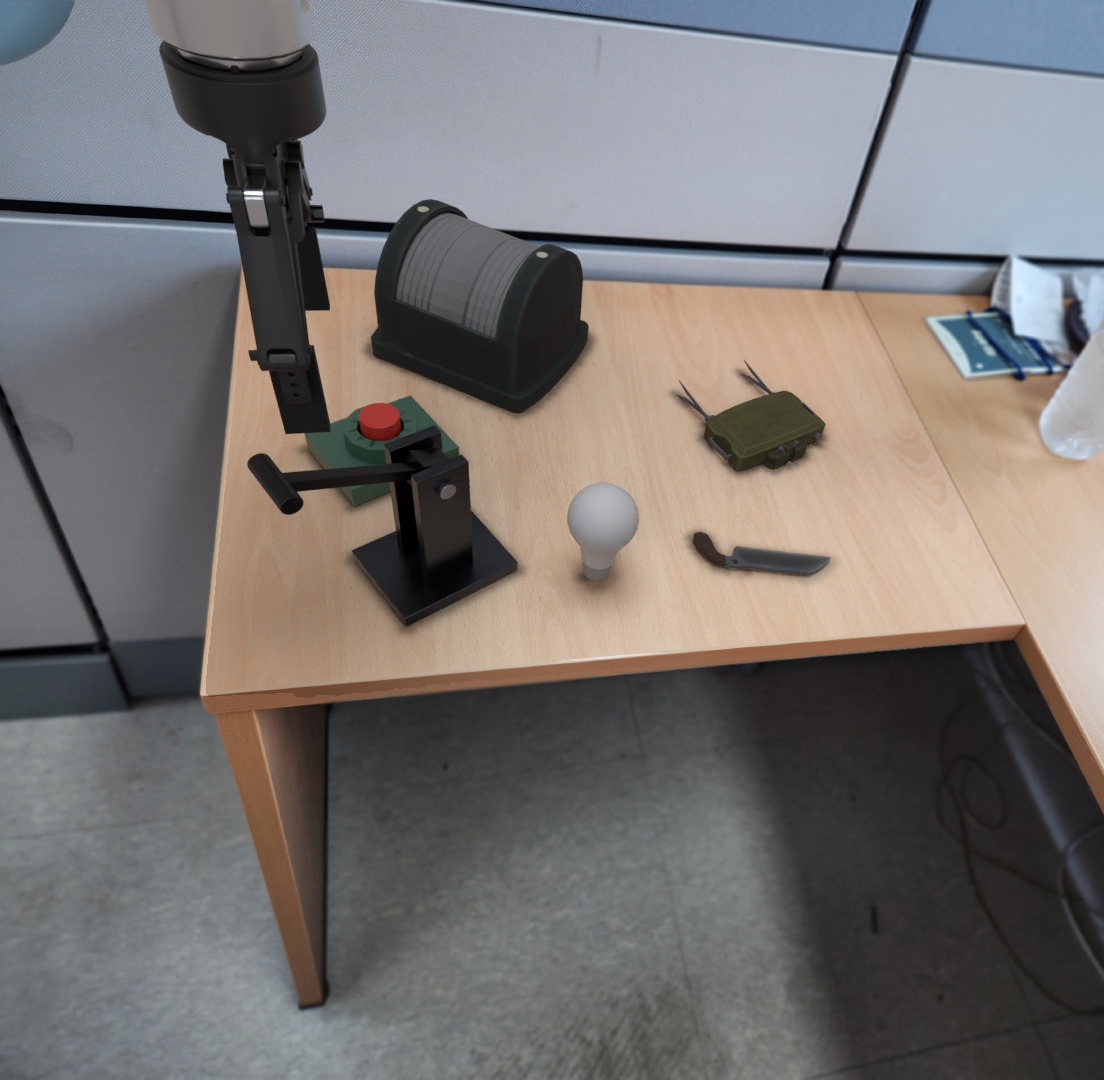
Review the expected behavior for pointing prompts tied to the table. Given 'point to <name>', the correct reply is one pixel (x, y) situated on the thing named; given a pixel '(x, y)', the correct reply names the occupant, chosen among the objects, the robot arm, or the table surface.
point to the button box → (369, 446)
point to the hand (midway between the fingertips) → (309, 364)
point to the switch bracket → (431, 537)
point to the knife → (760, 558)
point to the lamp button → (379, 422)
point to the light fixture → (477, 307)
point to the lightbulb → (602, 526)
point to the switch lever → (334, 476)
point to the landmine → (761, 428)
